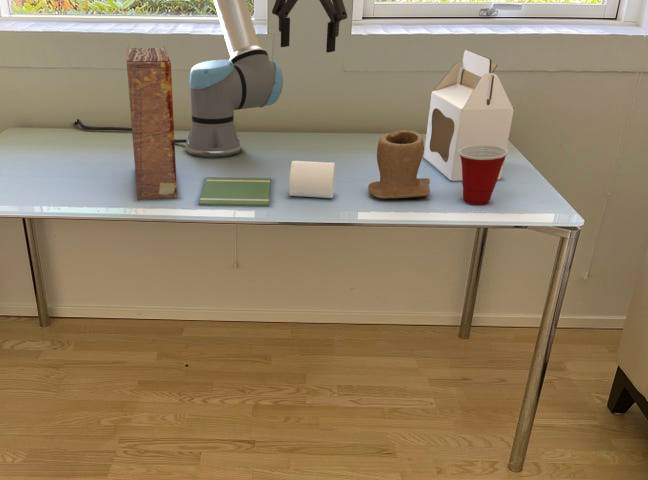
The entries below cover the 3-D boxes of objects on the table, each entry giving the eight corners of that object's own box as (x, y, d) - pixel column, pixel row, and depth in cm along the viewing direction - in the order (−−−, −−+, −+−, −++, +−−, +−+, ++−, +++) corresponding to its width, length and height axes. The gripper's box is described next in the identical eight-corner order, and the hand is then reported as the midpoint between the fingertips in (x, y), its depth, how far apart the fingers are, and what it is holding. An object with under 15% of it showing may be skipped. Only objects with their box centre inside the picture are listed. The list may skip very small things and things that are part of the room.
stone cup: (374, 205, 165) (380, 138, 158) (364, 189, 175) (369, 126, 168) (439, 204, 166) (448, 138, 158) (425, 188, 176) (433, 125, 169)
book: (136, 169, 189) (126, 45, 173) (172, 168, 190) (165, 44, 174) (137, 201, 167) (126, 62, 152) (177, 199, 168) (170, 61, 153)
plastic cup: (445, 194, 172) (452, 143, 166) (489, 193, 173) (497, 142, 167) (459, 209, 163) (468, 156, 157) (506, 208, 164) (516, 155, 158)
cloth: (198, 205, 165) (198, 202, 165) (207, 178, 182) (206, 176, 182) (269, 206, 164) (269, 204, 164) (270, 179, 182) (270, 177, 181)
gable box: (501, 180, 182) (523, 61, 168) (451, 181, 181) (468, 62, 167) (468, 156, 201) (485, 47, 187) (422, 157, 200) (436, 48, 186)
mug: (331, 202, 167) (333, 168, 163) (288, 200, 168) (289, 166, 164) (335, 187, 177) (337, 154, 173) (295, 184, 178) (296, 152, 174)
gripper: (258, -51, 171) (257, 46, 182) (348, -49, 158) (342, 55, 169) (277, -52, 176) (275, 42, 187) (366, -50, 163) (358, 52, 174)
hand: (307, 49), depth 178 cm, fingers open, 13 cm apart
